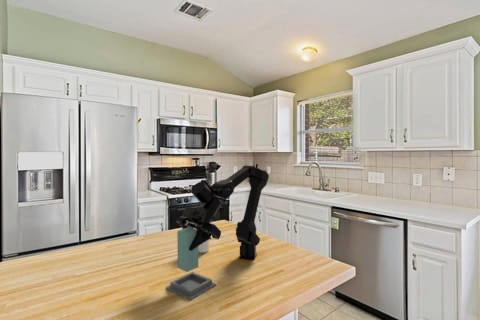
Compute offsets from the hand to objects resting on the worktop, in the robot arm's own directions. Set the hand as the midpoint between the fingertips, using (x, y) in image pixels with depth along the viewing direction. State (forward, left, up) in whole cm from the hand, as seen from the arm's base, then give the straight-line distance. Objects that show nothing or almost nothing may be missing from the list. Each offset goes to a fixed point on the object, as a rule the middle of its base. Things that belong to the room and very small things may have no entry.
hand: (184, 248), depth 92 cm
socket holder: (-2, -1, -13) cm, 14 cm away
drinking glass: (+7, -33, -14) cm, 36 cm away
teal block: (-1, -1, -7) cm, 7 cm away
